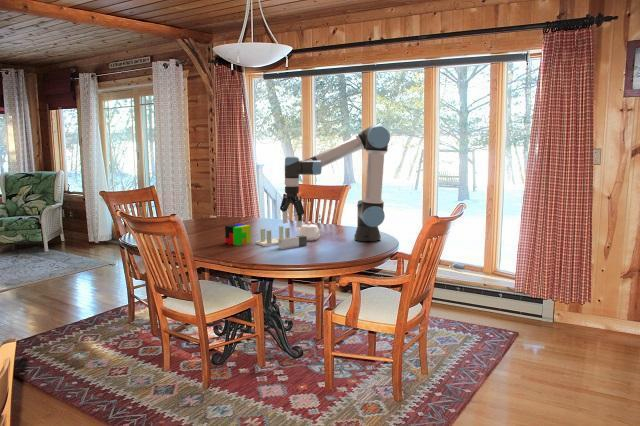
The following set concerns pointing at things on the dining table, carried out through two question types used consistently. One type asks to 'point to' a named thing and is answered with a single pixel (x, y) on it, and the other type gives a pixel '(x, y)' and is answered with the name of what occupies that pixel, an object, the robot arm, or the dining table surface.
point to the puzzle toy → (238, 234)
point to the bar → (292, 242)
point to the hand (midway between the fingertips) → (291, 225)
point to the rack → (269, 240)
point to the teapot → (309, 231)
